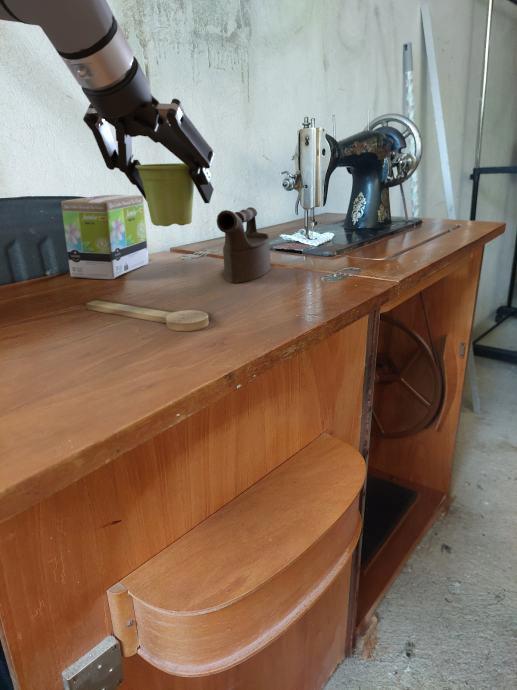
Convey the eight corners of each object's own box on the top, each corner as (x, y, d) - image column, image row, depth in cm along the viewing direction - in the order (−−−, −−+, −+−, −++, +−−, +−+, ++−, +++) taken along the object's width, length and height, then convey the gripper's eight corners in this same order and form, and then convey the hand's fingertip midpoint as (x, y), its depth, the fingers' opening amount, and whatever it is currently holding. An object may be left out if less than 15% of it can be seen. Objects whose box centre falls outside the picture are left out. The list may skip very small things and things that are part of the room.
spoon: (77, 312, 80) (76, 305, 80) (105, 302, 85) (104, 295, 85) (192, 333, 70) (191, 325, 70) (216, 321, 75) (216, 313, 74)
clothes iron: (206, 286, 93) (202, 210, 89) (235, 266, 108) (232, 200, 103) (248, 288, 91) (246, 210, 86) (272, 268, 106) (270, 200, 101)
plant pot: (213, 220, 82) (210, 162, 79) (181, 229, 74) (176, 165, 71) (164, 218, 86) (159, 163, 82) (128, 227, 78) (121, 166, 74)
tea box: (115, 280, 99) (105, 200, 94) (69, 278, 102) (57, 200, 96) (150, 263, 113) (143, 193, 107) (109, 262, 115) (100, 193, 110)
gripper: (21, 98, 64) (112, 214, 83) (180, 87, 57) (239, 216, 76) (43, 55, 66) (127, 177, 86) (198, 40, 59) (251, 176, 79)
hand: (180, 196), depth 81 cm, fingers closed on plant pot, 9 cm apart
